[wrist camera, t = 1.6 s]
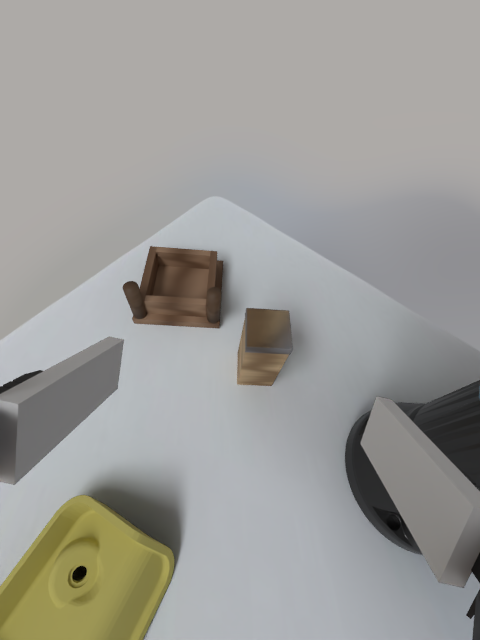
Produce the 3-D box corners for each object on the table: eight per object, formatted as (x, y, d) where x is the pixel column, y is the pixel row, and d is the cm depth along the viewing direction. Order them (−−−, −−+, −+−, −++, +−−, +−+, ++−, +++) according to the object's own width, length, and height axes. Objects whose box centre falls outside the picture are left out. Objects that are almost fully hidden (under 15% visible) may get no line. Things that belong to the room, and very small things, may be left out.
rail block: (270, 354, 40) (289, 310, 31) (271, 386, 38) (292, 349, 28) (237, 352, 40) (246, 307, 30) (236, 384, 37) (246, 346, 28)
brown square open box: (222, 266, 48) (225, 232, 42) (219, 328, 41) (221, 298, 35) (149, 260, 47) (140, 225, 41) (134, 323, 41) (121, 292, 34)
